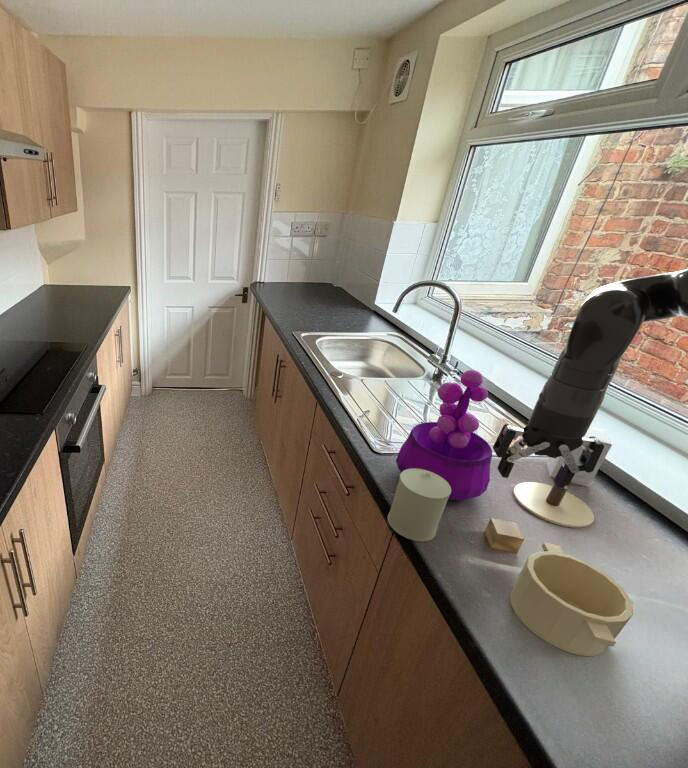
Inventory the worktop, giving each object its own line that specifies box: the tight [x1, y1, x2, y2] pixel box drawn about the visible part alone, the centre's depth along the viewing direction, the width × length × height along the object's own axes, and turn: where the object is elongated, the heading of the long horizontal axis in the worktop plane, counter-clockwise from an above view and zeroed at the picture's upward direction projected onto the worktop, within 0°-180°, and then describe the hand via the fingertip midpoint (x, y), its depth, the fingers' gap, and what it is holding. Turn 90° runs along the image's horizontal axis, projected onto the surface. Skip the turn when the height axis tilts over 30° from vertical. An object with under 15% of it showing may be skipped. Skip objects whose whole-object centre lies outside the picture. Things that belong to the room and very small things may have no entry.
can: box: [387, 468, 451, 542], centre depth 86 cm, size 9×9×12 cm
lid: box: [512, 481, 595, 529], centre depth 91 cm, size 14×14×6 cm
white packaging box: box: [545, 426, 613, 488], centre depth 99 cm, size 7×7×13 cm
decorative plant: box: [395, 369, 493, 501], centre depth 93 cm, size 19×19×30 cm
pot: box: [509, 542, 634, 657], centre depth 68 cm, size 13×18×8 cm
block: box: [484, 517, 525, 554], centre depth 82 cm, size 4×4×4 cm
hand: (530, 480), depth 77 cm, fingers open, 8 cm apart
